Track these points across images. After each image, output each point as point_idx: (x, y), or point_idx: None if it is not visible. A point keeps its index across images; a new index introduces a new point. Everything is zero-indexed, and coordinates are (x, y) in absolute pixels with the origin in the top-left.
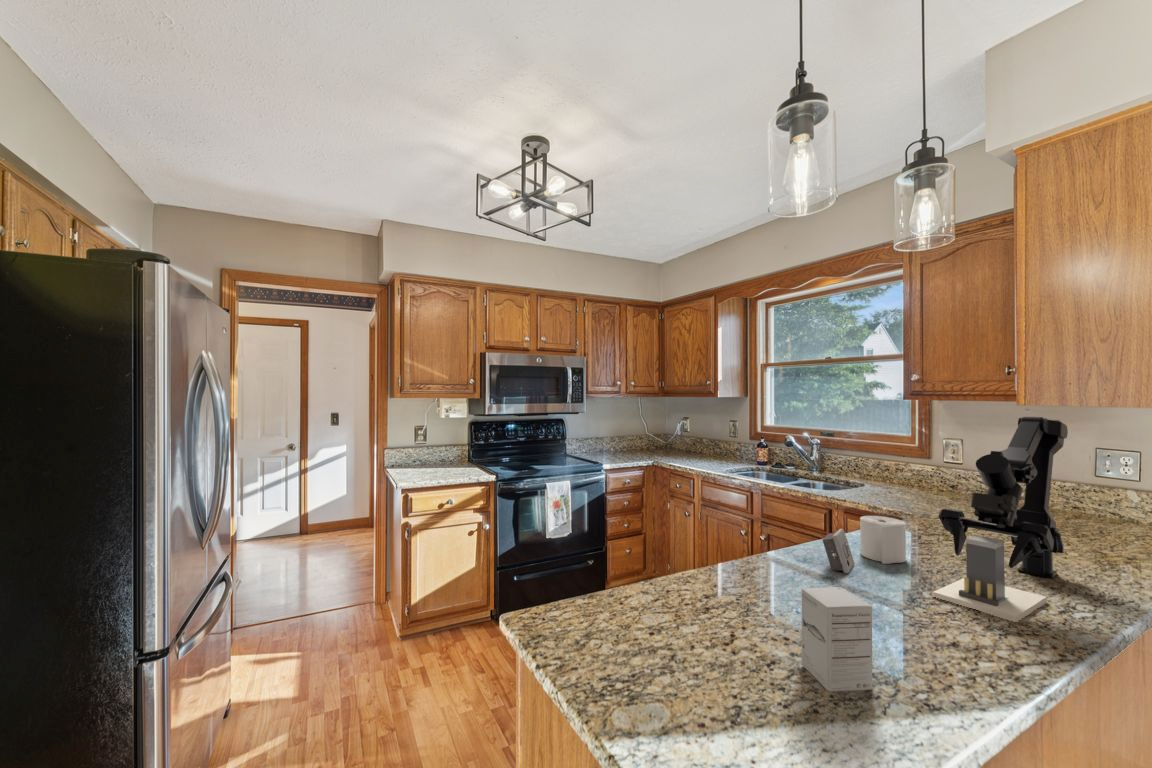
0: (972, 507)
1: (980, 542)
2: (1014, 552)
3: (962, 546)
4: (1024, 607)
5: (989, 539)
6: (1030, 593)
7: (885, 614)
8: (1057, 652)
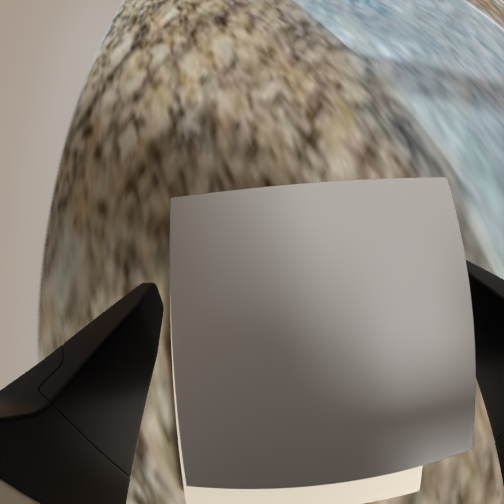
0: None
1: (316, 191)
2: (95, 336)
3: (479, 372)
4: None
5: (301, 391)
6: (225, 502)
7: (358, 28)
8: (93, 136)
